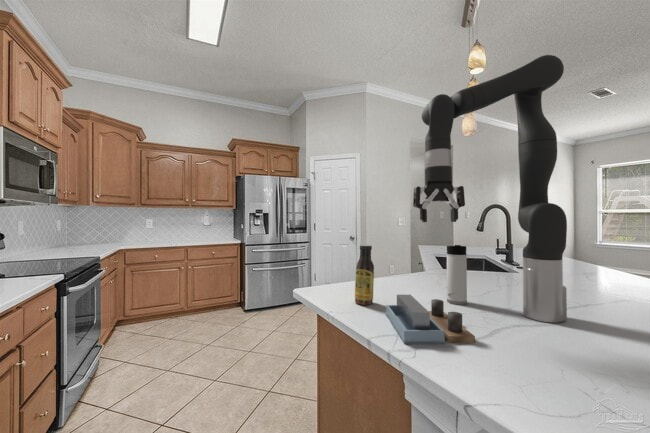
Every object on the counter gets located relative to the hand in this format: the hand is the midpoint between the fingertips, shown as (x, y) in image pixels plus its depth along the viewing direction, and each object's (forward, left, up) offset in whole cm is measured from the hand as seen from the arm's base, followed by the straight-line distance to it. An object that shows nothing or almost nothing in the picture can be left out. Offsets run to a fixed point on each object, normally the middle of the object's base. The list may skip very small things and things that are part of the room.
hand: (438, 222), depth 83 cm
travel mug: (-12, -15, -28) cm, 34 cm away
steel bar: (+11, +8, -27) cm, 30 cm away
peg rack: (+2, +8, -28) cm, 29 cm away
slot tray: (+11, +8, -28) cm, 31 cm away
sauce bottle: (+20, -14, -28) cm, 37 cm away
